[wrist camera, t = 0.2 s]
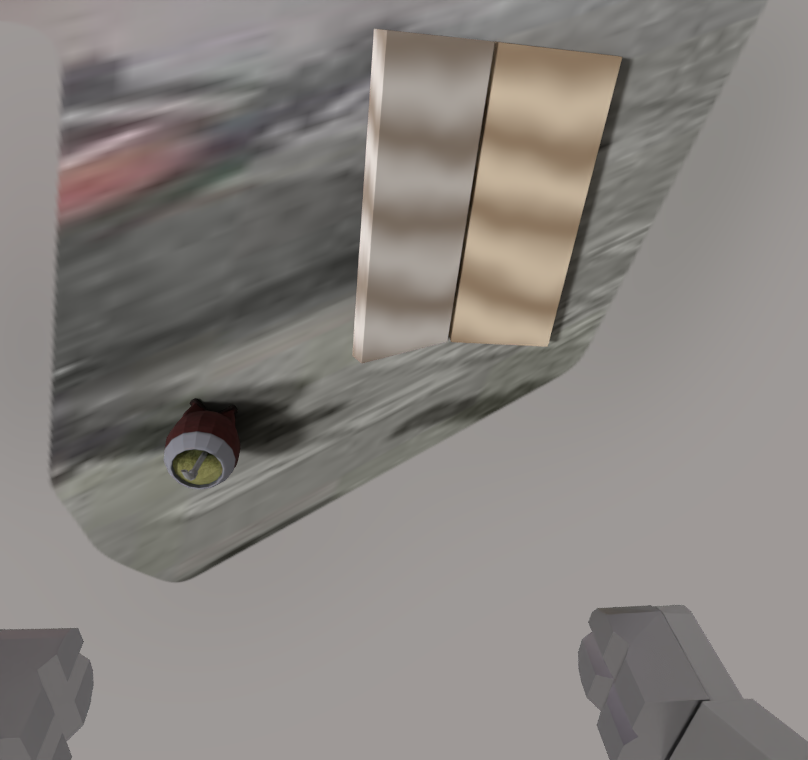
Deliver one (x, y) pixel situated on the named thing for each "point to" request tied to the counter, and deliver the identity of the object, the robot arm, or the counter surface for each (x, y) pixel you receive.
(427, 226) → the whitewashed plank
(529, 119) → the laid oak row
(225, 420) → the mate gourd
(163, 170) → the counter surface
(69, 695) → the robot arm
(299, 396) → the counter surface
